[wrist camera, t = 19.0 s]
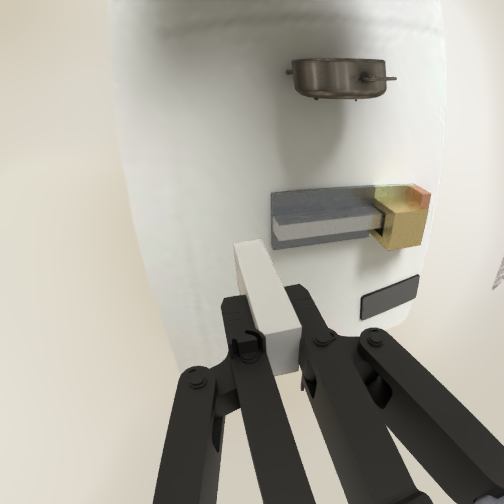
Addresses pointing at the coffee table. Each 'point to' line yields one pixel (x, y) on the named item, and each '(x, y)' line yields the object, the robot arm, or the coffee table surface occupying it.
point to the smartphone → (388, 297)
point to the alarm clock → (340, 78)
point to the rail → (319, 204)
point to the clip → (400, 222)
